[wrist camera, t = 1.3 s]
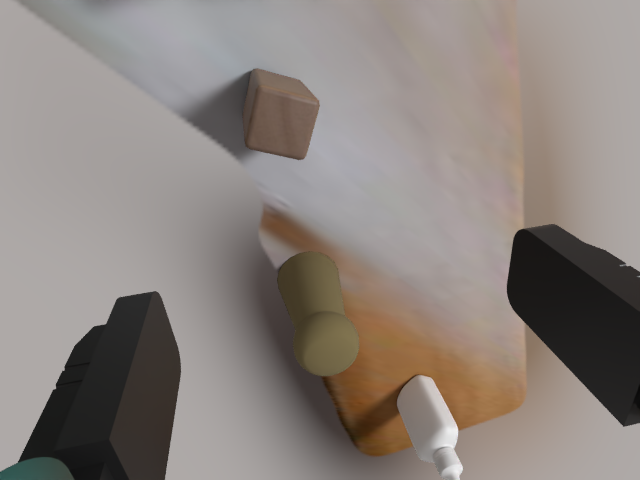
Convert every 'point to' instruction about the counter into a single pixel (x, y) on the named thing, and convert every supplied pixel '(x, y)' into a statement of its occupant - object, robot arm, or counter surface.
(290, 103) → the wooden block
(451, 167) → the counter surface
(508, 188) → the counter surface
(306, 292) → the olive pawn
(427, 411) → the eye dropper bottle
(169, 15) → the counter surface
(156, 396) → the robot arm
